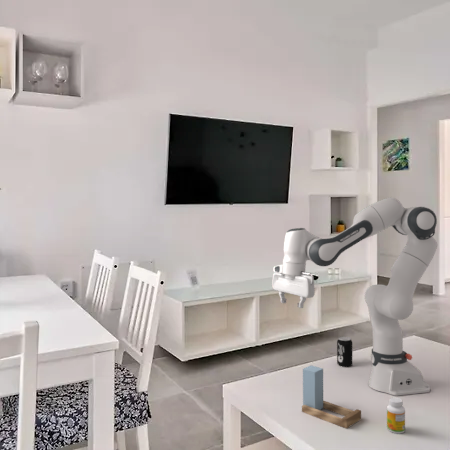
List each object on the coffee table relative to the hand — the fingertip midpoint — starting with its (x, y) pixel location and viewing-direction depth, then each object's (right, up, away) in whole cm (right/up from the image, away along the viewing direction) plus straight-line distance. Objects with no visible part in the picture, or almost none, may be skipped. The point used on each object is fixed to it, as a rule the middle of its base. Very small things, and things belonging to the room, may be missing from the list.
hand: (291, 305), depth 182 cm
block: (+5, -33, -17) cm, 38 cm away
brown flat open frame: (+10, -34, -22) cm, 41 cm away
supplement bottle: (+28, -34, -33) cm, 55 cm away
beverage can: (+27, -31, +27) cm, 49 cm away
